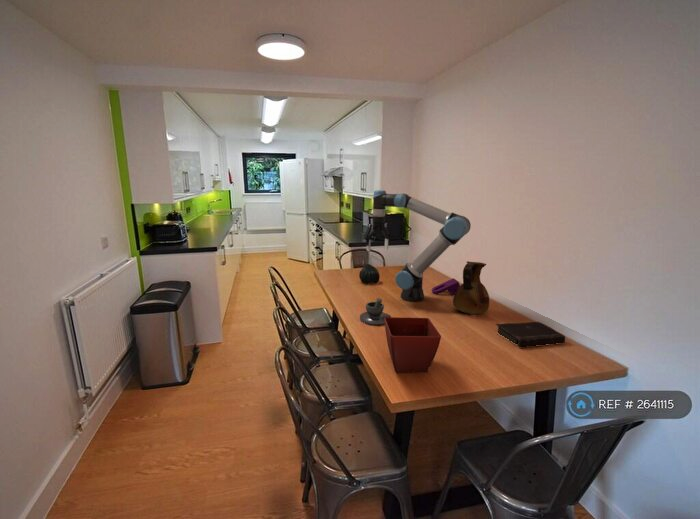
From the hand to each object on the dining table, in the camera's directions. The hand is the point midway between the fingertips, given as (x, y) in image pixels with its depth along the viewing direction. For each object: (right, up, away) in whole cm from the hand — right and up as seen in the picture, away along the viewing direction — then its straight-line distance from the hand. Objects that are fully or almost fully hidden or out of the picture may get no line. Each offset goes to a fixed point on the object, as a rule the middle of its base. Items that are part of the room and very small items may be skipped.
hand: (377, 250), depth 213 cm
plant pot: (+7, -49, -74) cm, 89 cm away
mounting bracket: (+48, -29, +21) cm, 60 cm away
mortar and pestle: (-4, -37, -28) cm, 47 cm away
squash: (-3, -24, +42) cm, 48 cm away
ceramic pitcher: (+53, -37, -13) cm, 66 cm away
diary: (+70, -45, -46) cm, 95 cm away
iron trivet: (-3, -38, -28) cm, 47 cm away
